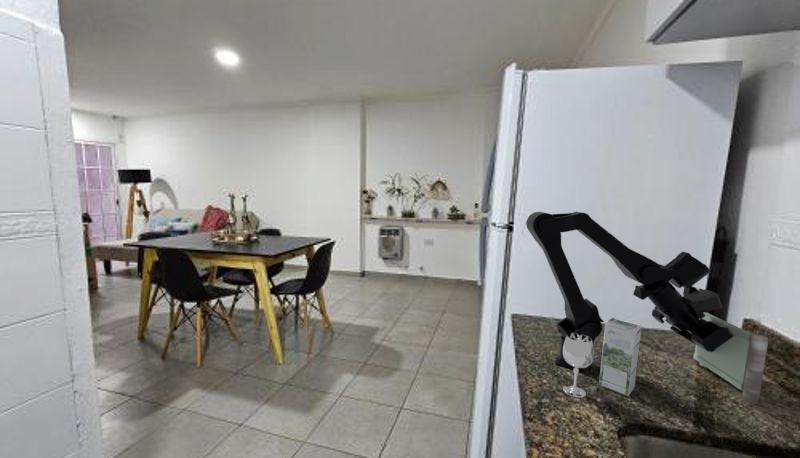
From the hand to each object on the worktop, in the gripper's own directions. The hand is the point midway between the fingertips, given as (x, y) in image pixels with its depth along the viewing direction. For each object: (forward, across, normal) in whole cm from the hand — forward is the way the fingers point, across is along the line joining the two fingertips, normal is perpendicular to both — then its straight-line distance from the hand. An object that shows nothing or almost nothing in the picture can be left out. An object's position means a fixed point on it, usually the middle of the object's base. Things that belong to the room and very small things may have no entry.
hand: (710, 349), depth 82 cm
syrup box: (-13, -10, +22) cm, 28 cm away
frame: (+6, -3, +3) cm, 7 cm away
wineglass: (-20, -13, +30) cm, 38 cm away
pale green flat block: (+4, -2, +3) cm, 5 cm away
